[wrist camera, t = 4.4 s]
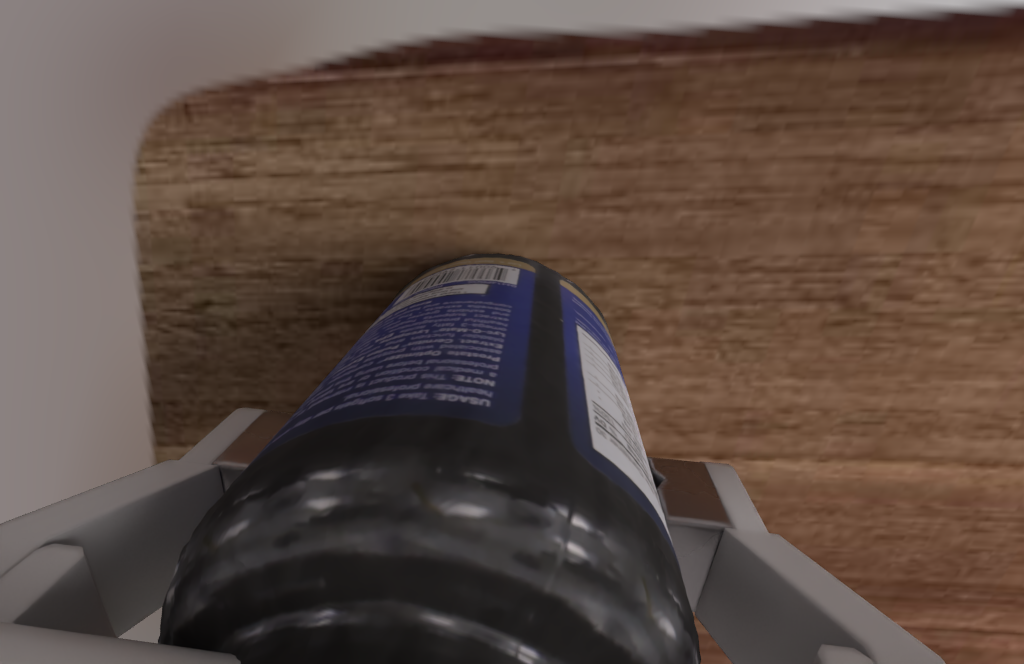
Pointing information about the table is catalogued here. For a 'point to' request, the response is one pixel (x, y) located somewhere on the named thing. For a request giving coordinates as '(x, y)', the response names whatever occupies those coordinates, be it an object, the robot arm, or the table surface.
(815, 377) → the table surface
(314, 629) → the pill bottle
